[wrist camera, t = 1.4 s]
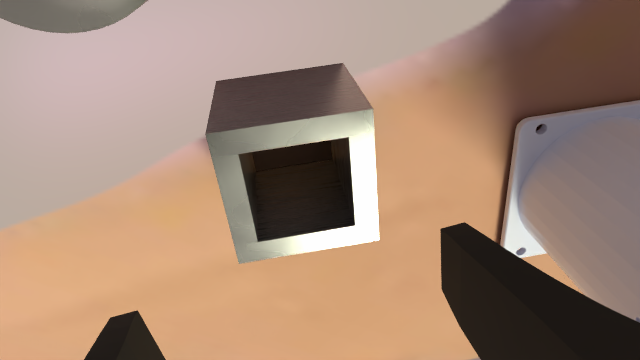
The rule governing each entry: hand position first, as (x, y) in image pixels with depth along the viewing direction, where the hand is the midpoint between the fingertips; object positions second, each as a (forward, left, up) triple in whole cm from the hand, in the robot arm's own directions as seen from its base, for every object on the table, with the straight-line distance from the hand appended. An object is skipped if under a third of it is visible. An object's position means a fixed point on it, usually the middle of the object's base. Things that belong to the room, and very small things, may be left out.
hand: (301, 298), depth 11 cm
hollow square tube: (-1, 0, -10) cm, 10 cm away
